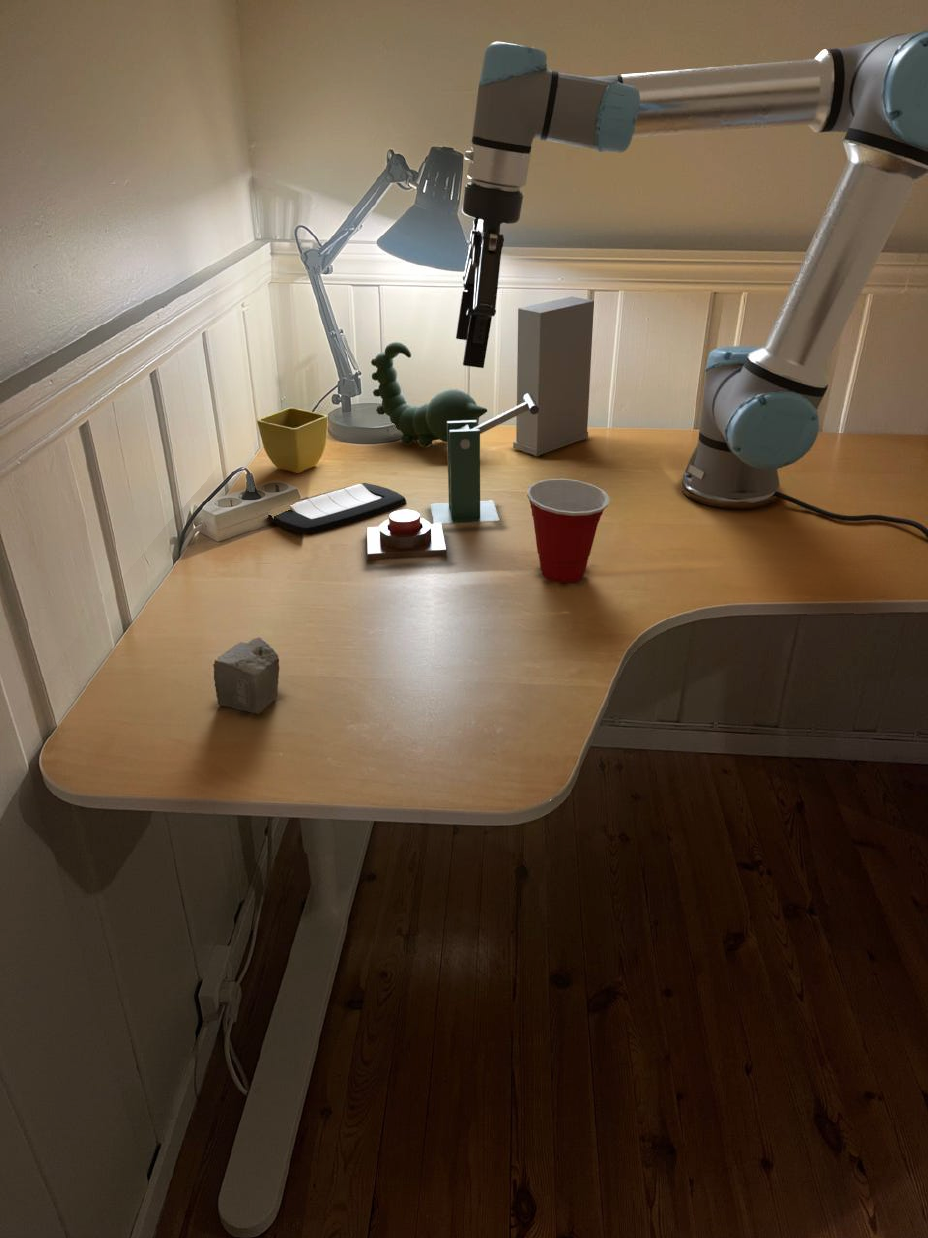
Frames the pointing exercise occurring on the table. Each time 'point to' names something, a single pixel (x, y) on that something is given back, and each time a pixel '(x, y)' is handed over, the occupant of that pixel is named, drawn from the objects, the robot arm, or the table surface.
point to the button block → (405, 542)
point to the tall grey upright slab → (554, 373)
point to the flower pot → (294, 438)
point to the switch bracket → (463, 479)
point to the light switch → (338, 508)
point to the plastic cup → (565, 525)
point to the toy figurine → (414, 419)
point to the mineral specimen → (247, 676)
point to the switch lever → (508, 414)
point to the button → (404, 522)
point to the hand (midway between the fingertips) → (469, 352)
